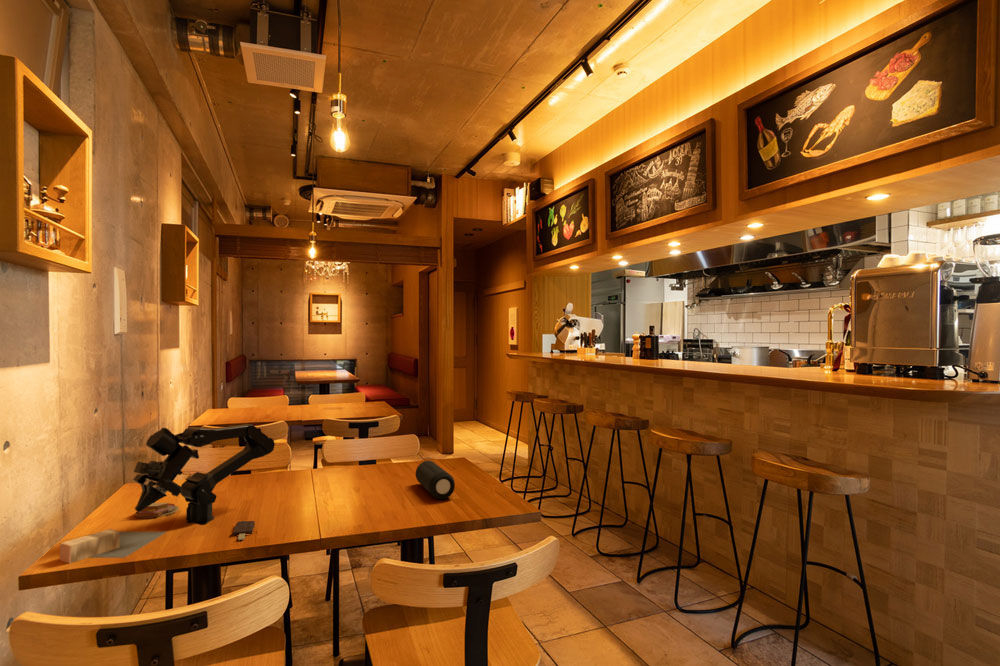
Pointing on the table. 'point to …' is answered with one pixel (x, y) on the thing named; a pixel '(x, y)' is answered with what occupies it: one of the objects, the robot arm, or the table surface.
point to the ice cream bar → (243, 529)
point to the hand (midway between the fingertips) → (136, 510)
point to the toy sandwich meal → (157, 510)
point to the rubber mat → (130, 544)
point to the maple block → (89, 545)
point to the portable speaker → (435, 480)
